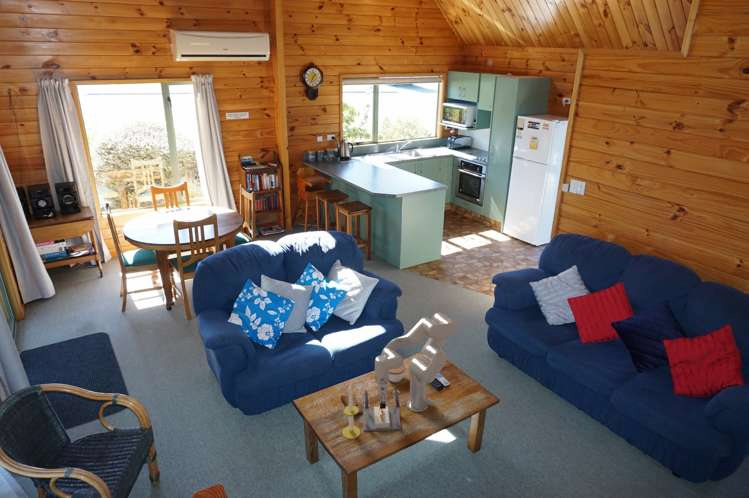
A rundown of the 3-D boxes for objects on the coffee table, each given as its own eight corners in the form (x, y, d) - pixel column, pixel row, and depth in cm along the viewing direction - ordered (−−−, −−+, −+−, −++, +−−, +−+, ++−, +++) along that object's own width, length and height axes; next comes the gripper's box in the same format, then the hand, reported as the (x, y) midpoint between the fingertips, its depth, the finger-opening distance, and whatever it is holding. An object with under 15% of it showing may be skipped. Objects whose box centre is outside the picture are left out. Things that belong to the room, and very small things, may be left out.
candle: (346, 441, 274) (344, 391, 262) (339, 429, 282) (338, 380, 270) (363, 435, 278) (362, 386, 266) (356, 424, 286) (355, 375, 274)
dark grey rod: (367, 392, 290) (367, 390, 290) (368, 409, 277) (368, 407, 276) (364, 392, 290) (364, 390, 290) (365, 409, 277) (365, 407, 276)
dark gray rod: (397, 391, 291) (397, 389, 290) (399, 408, 277) (399, 405, 277) (394, 391, 291) (394, 389, 290) (396, 408, 277) (396, 406, 277)
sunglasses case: (365, 413, 294) (360, 407, 291) (356, 421, 293) (350, 415, 290) (353, 395, 309) (348, 389, 306) (344, 403, 308) (338, 397, 305)
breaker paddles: (382, 409, 291) (380, 404, 290) (383, 419, 283) (381, 414, 282) (380, 409, 291) (378, 405, 290) (380, 419, 283) (379, 415, 282)
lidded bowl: (384, 373, 330) (384, 359, 326) (403, 372, 331) (403, 358, 327) (386, 385, 318) (386, 371, 314) (406, 384, 320) (406, 369, 315)
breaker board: (398, 410, 297) (398, 388, 291) (401, 429, 282) (401, 407, 276) (363, 411, 296) (362, 389, 290) (363, 431, 281) (363, 408, 275)
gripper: (390, 386, 270) (390, 412, 277) (387, 367, 286) (387, 392, 293) (375, 387, 270) (376, 413, 276) (374, 368, 286) (374, 393, 292)
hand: (382, 402), depth 285 cm, fingers open, 9 cm apart
